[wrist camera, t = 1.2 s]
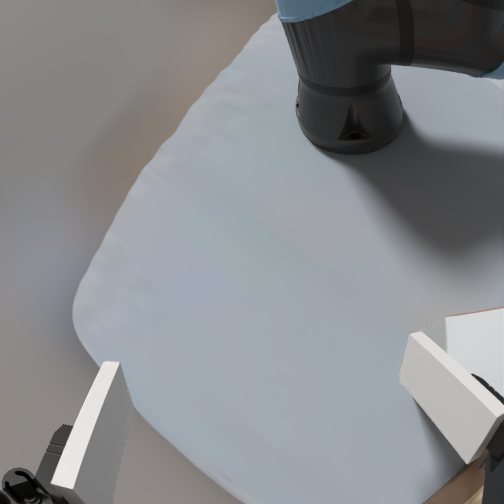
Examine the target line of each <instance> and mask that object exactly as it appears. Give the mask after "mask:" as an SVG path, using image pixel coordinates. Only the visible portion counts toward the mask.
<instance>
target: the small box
mask: <svg viewBox="0 0 504 504" xmlns="http://www.w3.org/2000/svg"><path fill="white" fill-rule="evenodd" d="M420 331H422V332H423V333H424V334H425V335H426V336H428V337H429V338H430V339H431V340H432V341H433V342H435V343H436V344H437V345H438V346H439V347H440V348H441V349H443V350H444V351H445V352H446V353H447V354H448V355H450V356H451V357H452V358H453V359H454V360H455V361H456V362H457V363H459V364H460V365H461V366H462V367H463V368H464V369H465V370H466V371H468V372H469V373H470V374H475V375H477V376H479V377H481V378H483V379H484V380H485V381H486V382H487V383H488V384H489V386H492V387H493V388H494V389H495V391H497V392H498V393H499V394H500V395H501V396H503V397H504V307H500V308H495V309H489V310H483V311H477V312H472V313H465V314H458V315H452V316H446V317H445V318H443V319H441V320H439V321H437V322H435V323H433V324H431V325H429V326H427V327H425V328H423V329H421V330H419V331H416V332H420ZM416 332H414V333H416Z"/></svg>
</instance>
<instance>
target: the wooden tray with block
mask: <svg viewBox="0 0 504 504" xmlns="http://www.w3.org/2000/svg"><path fill="white" fill-rule="evenodd" d="M488 452H489V450H488V449H487V448H485V450H484V451H483V453H482V454H481V456H480V457H479V458H477V459H476V460H474V461H472V462H471V463H469V464H467V465H466V466H465V467H464V468H463V469H462V470H461V471H460V472H459V473H457V474H456V475H455V476H454V477H453V478H452V479H451V480H450V481H449V482H448V483H447V484H446V485H444V486H443V487H442V488H441V489H440V490H439V491H438V492H436V493H435V494H434V495H433V496H432V497H430V498H429V499H428V500H427V501H426V502H424V503H423V504H481V503H482V496H483V488H484V478H485V469H483V468H484V467H485V465H486V462H485V463H484V464H483V466H482V467H481V468H480V469H478V467H479V464H480V463H481V462H482V460H483V459H484V458H485V456H486V455H487V453H488Z"/></svg>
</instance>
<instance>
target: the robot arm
mask: <svg viewBox="0 0 504 504" xmlns="http://www.w3.org/2000/svg"><path fill="white" fill-rule="evenodd" d="M275 2H276V6H277V9H278V13H277V15H278V18H279V19H280V21H281V22H282V25H283V28H284V31H285V34H286V37H287V40H288V43H289V46H290V49H291V52H292V55H293V58H294V61H295V65H296V68H297V71H298V75H299V85H298V96H297V100H296V115H297V118H298V122H299V125H300V128H301V130H302V131H303V133H304V134H305V136H306V137H307V138H308V139H309V140H311V141H312V142H313V143H315V144H316V145H318V146H320V147H322V148H324V149H326V150H329V151H333V152H337V153H343V154H362V153H368V152H372V151H375V150H378V149H380V148H382V147H384V146H386V145H387V144H389V143H390V142H391V141H392V140H394V138H395V137H396V136H397V135H398V133H399V131H400V129H401V126H402V117H403V106H402V102H401V99H400V97H399V94H398V93H397V90H396V87H395V84H394V81H393V78H392V76H391V65H401V66H411V67H421V68H429V69H437V70H444V71H451V72H457V73H462V74H467V75H469V76H472V77H475V78H478V77H479V78H485V77H486V78H492V79H499V80H500V79H504V0H275ZM398 379H399V381H400V382H401V383H402V384H403V385H404V387H405V388H406V389H407V390H408V391H409V393H410V394H411V395H412V396H413V398H414V399H415V400H416V401H417V402H418V404H419V405H420V406H421V407H422V409H423V410H424V411H425V412H426V413H427V415H428V416H429V417H430V418H431V420H432V421H433V422H434V423H435V425H436V426H437V427H438V428H439V430H440V431H441V432H442V433H443V435H444V436H445V437H446V438H447V440H448V441H449V442H450V444H451V445H452V446H453V447H454V449H455V450H456V451H457V452H458V454H459V455H460V456H461V458H462V459H463V460H464V461H465V463H466V464H469V463H471V462H472V461H474V460H476V459H477V458H479V457H480V456H481V454H482V453H483V451H484V450H485V448H487V449H488V450H489V452H488V453H487V455H486V456H485V458H484V459H483V460H482V462H481V463H480V464H479V467H478V469H480V468H481V467H482V466H483V464H484V463H485V462H486V465H485V467H484V468H483V469H485V478H484V488H483V496H482V503H481V504H504V397H503V396H501V395H500V394H499V393H498V392H497V391H495V389H494V388H493V387H492V386H489V384H488V383H487V382H486V381H485V380H484V379H483V378H481V377H479V376H477V375H475V374H470V373H469V372H468V371H466V370H465V369H464V368H463V367H462V366H461V365H460V364H459V363H457V362H456V361H455V360H454V359H453V358H452V357H451V356H450V355H448V354H447V353H446V352H445V351H444V350H443V349H441V348H440V347H439V346H438V345H437V344H436V343H435V342H433V341H432V340H431V339H430V338H429V337H428V336H426V335H425V334H424V333H423V332H422V331H420V332H416V333H412V334H409V338H408V343H407V347H406V351H405V355H404V359H403V363H402V367H401V370H400V374H399V378H398ZM134 409H135V408H134V405H133V402H132V399H131V396H130V393H129V390H128V387H127V384H126V381H125V377H124V374H123V371H122V367H121V364H120V362H104V363H103V365H102V367H101V369H100V371H99V373H98V375H97V377H96V379H95V381H94V383H93V385H92V387H91V389H90V391H89V394H88V396H87V398H86V400H85V402H84V404H83V407H82V409H81V411H80V413H79V415H78V418H77V420H76V422H75V424H74V426H69V425H64V424H63V425H62V426H61V427H60V428H59V429H58V430H57V431H56V432H55V433H54V435H53V437H52V439H51V441H50V445H49V446H48V448H47V450H46V451H47V452H46V453H45V454H44V457H43V459H42V461H41V464H40V466H39V468H38V471H37V473H36V476H34V475H33V474H32V473H31V472H30V471H28V470H27V469H24V468H14V469H12V470H10V471H8V472H7V473H6V474H5V475H4V477H3V480H2V489H3V490H0V504H112V503H113V498H114V492H115V488H116V483H117V478H118V473H119V469H120V465H121V461H122V456H123V452H124V448H125V444H126V439H127V435H128V431H129V428H130V424H131V420H132V416H133V412H134Z"/></svg>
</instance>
